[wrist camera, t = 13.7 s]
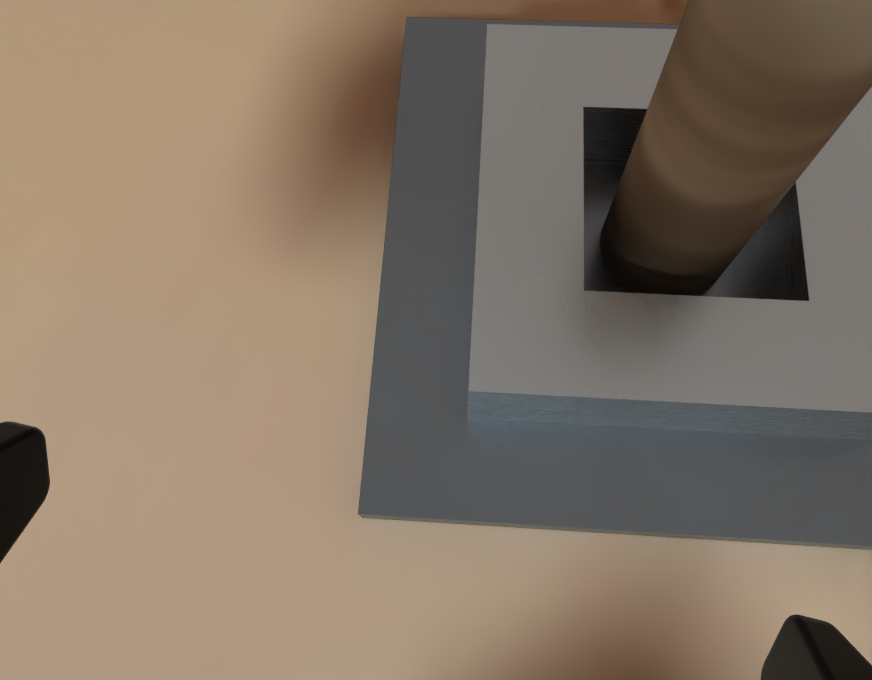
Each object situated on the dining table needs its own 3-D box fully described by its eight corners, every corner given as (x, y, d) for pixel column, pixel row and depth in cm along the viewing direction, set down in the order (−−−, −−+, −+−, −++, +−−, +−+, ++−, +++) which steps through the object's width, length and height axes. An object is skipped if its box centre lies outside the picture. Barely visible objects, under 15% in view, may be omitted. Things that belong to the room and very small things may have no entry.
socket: (982, 556, 21) (1095, 546, 17) (362, 517, 22) (342, 500, 18) (893, 50, 27) (962, -38, 23) (408, 36, 28) (400, -52, 24)
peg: (682, 328, 23) (901, 57, 11) (575, 256, 24) (680, -59, 12) (749, 236, 24) (1011, -97, 12) (644, 171, 25) (799, -194, 13)
